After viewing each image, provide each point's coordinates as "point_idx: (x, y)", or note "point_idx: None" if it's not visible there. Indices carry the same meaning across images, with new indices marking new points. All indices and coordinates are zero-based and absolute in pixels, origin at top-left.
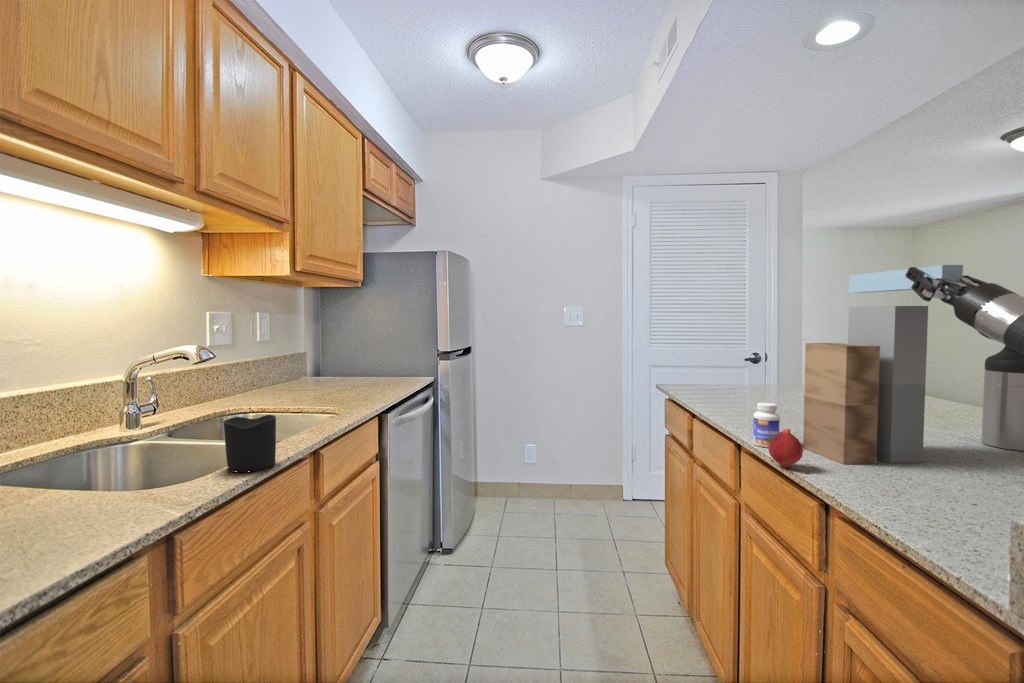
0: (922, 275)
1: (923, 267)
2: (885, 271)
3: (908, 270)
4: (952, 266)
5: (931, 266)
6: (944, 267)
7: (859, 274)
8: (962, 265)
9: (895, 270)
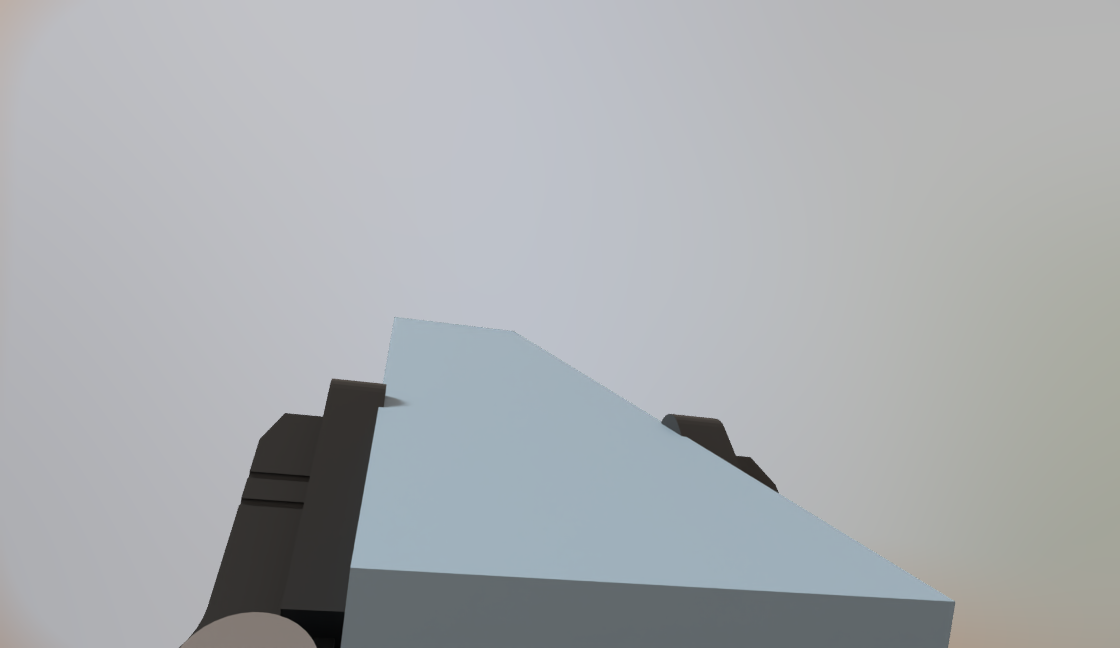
0: (279, 606)
1: (373, 439)
2: (390, 348)
3: (281, 426)
4: (663, 631)
5: (366, 479)
6: (422, 643)
7: (394, 324)
8: (939, 618)
9: (386, 363)
